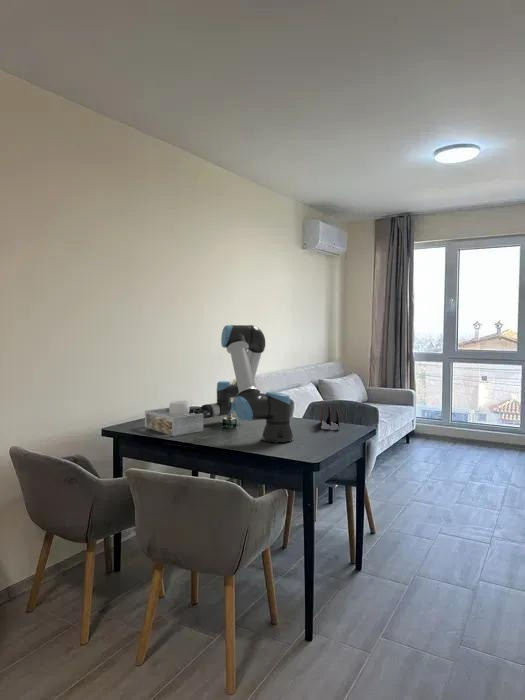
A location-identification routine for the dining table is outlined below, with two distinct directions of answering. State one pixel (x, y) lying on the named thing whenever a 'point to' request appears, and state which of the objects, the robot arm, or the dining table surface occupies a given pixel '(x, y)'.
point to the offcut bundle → (162, 424)
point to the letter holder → (328, 416)
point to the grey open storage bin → (175, 421)
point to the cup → (178, 408)
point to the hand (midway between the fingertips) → (177, 415)
